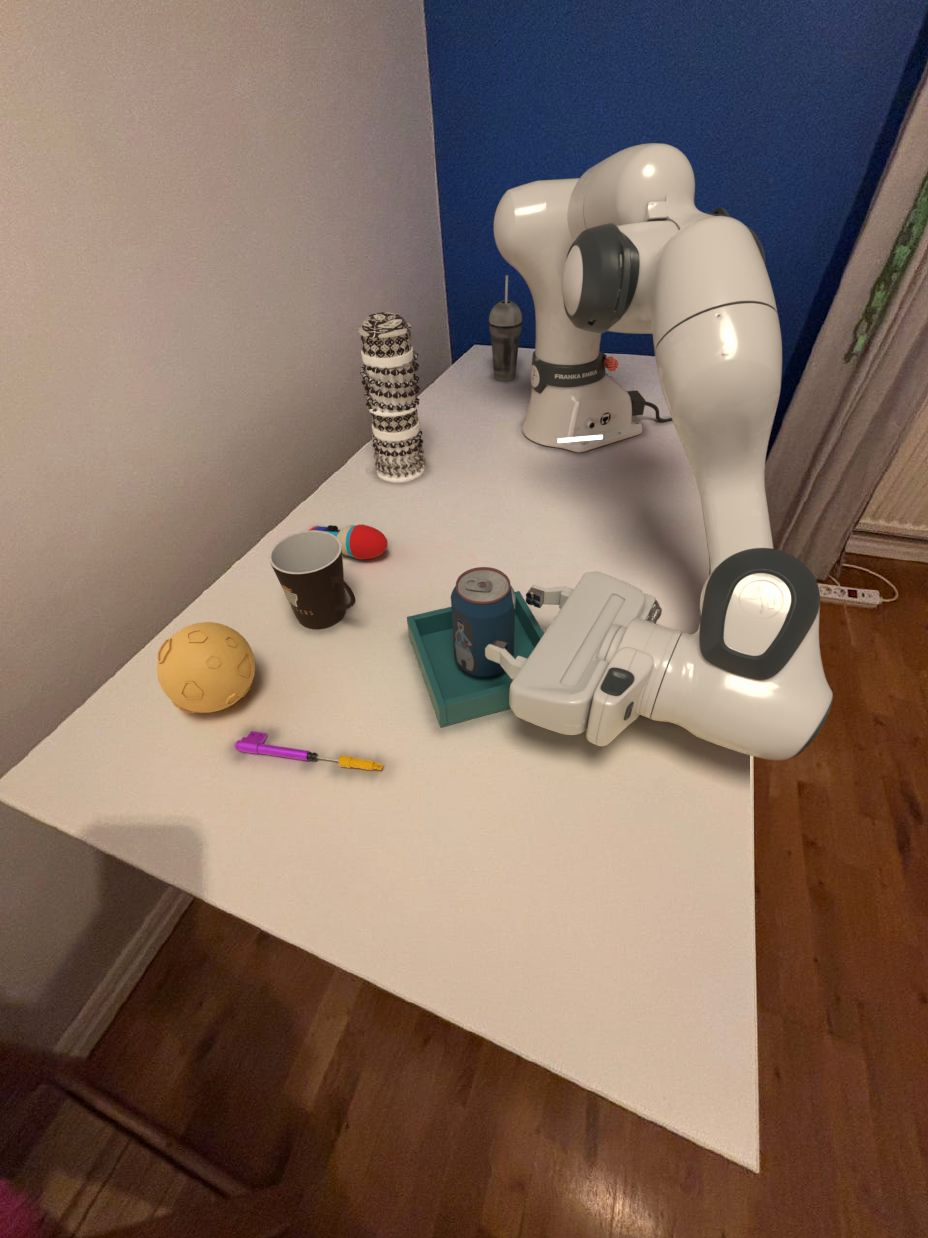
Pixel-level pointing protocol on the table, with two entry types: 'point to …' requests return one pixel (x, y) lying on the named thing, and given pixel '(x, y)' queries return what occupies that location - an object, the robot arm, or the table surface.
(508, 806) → the table surface
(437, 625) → the bin
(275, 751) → the purple orange rod tool
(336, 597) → the coffee mug
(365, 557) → the toy figure
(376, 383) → the decorative candle
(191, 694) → the stress ball
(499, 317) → the beverage cup
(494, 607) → the soda can
